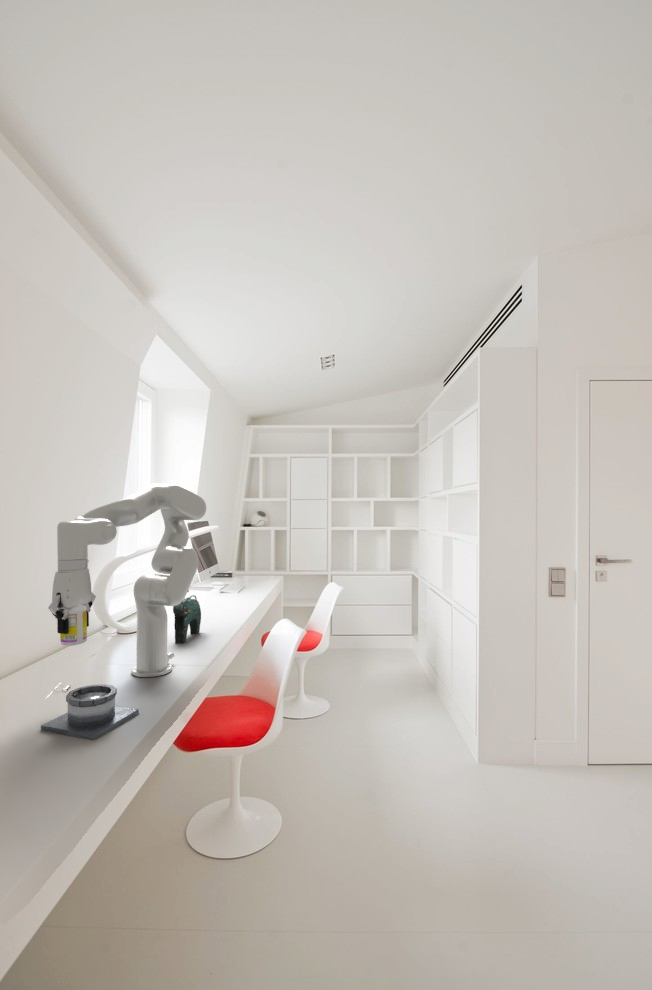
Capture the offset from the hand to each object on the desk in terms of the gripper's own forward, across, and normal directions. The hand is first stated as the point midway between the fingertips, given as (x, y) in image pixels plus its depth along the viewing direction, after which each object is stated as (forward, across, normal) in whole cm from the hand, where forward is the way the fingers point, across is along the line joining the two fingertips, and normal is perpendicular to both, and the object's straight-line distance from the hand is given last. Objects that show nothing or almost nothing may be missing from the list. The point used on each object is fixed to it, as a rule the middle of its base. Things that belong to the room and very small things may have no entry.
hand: (73, 629), depth 147 cm
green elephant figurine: (+22, -69, -9) cm, 73 cm away
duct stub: (+20, +9, +14) cm, 26 cm away
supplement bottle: (+4, 0, 0) cm, 4 cm away
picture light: (+21, -6, -11) cm, 25 cm away
